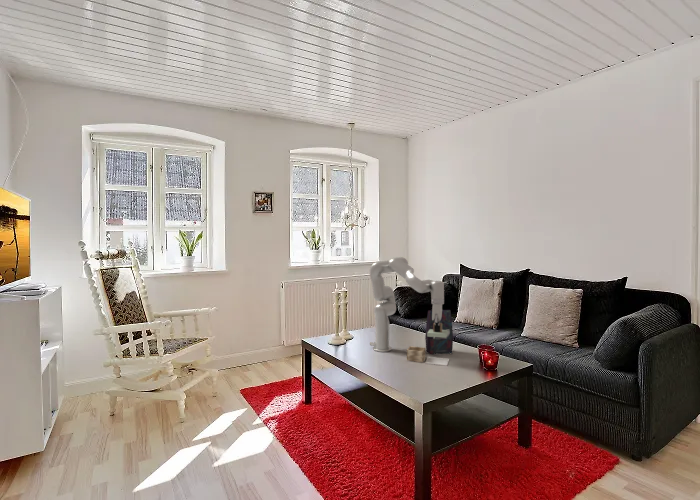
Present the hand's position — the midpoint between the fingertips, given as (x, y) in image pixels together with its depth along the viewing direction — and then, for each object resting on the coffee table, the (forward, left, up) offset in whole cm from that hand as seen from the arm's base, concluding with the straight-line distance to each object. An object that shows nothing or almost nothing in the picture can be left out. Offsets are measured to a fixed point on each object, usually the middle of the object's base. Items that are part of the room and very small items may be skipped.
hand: (437, 330), depth 240 cm
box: (-13, 0, -19) cm, 23 cm away
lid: (0, 0, -3) cm, 3 cm away
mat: (0, 0, -19) cm, 19 cm away
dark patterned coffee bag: (-2, +20, -19) cm, 27 cm away
